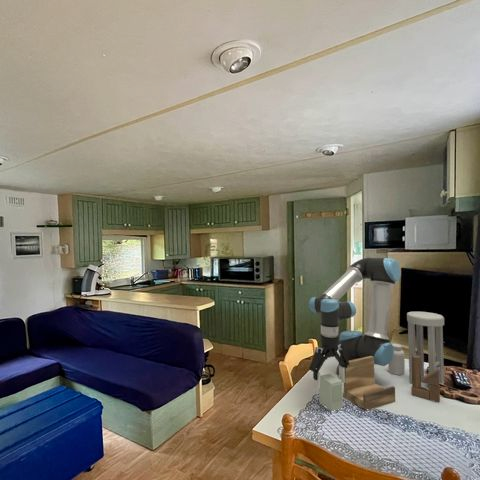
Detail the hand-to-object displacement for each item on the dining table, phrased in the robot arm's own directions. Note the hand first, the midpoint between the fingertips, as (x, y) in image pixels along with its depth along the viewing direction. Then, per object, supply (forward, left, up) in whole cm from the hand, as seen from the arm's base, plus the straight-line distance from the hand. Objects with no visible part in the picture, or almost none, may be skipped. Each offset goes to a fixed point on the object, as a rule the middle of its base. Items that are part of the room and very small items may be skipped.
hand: (329, 384), depth 126 cm
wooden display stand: (+2, +20, -9) cm, 23 cm away
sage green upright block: (0, 0, -10) cm, 10 cm away
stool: (+4, +58, -10) cm, 59 cm away
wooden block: (+12, +45, -10) cm, 48 cm away
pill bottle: (-12, +57, -10) cm, 59 cm away
